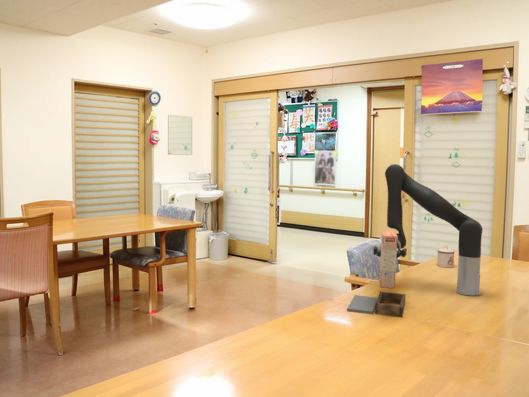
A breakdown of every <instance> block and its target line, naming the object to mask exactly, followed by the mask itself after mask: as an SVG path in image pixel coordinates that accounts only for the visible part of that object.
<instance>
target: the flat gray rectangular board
mask: <svg viewBox="0 0 529 397" xmlns="http://www.w3.org/2000/svg"><path fill="white" fill-rule="evenodd" d="M377 298H378V296H377V297H376V296H368V295H360V294H354V296H353V298H352V299H351V301H350V302H349V305H348V306H347V308H346V312H352V313H353V312H354V313H361V314H368V315H373V314H374V313H375V303H376V301H377Z"/></svg>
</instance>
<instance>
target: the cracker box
mask: <svg viewBox="0 0 529 397" xmlns="http://www.w3.org/2000/svg"><path fill="white" fill-rule="evenodd" d="M396 231H397V230H396ZM396 231H395V230H381V239H380V240H381V243H380V244H381V245H380V247H381V256H380V264H379V286H380V287H379V288H384V289H385V288H386V289H395V287H396V273H397V272H396V271H397V258H396V256H397V239H398V237H397V234H398V233H397V232H396ZM396 233H397V234H396Z"/></svg>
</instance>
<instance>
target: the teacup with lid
mask: <svg viewBox="0 0 529 397" xmlns="http://www.w3.org/2000/svg"><path fill="white" fill-rule="evenodd" d="M436 260H437V261H436V263H437V264H436V266H438V267H439V268H445V269H447V268H449V269H450V268H451V269H452V268H453V267H454V260H455V250H454V249H451V248H450V247H449V246H448V245H444V247H441V248H438V249H437V259H436Z"/></svg>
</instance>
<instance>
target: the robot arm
mask: <svg viewBox="0 0 529 397" xmlns="http://www.w3.org/2000/svg"><path fill="white" fill-rule="evenodd" d="M384 175H385V176H384V177H385V180H386V186H387V188H386V189H387V210H386V226H387V228H390V229H393V230H396V231H397V232H396V234H397V237H398V239H397V256H396V259H398V258H400V257H402V258H405V257H406V256H407V255H408V254H407V253H408V250H407V249H408V248H406V245H407V239H406V235H405V231H404V227H403V201H402V192H404V193H405V194H406V195H408V196H409V198H410V199H412V200H413V201H414V202H415V203H416V204H418V205H419V206H420V207H421V208H423V209H424V210H425V211H427V212H428V213H429V214H431V215H433V216H435V217H436V218H438V219H440V220H442V221H445V222H447V223H448V224H450V225H451V226H452V227H454V228H455V229H456V230H457V231H458V248H457V249H458V258H457V261H458V262H457V276H456V277H457V280H456V293H458V294H460V295H463V296H473V297H474V296H480V288H481V286H480V285H481V259H482V258H481V256H482V248H481V247H482V236H483V227H482V224H481V223H480V222H479V221H478V220H476V219H474V218H472V217H471V216H468V215H467V214H465V213H463V212H462V211H460V210H459V209H458V208H457V207H455V206H454V205H453V204H452V203H450V201H448V200H447V199H446V198H445V197H443V196H442V195H440V194H439V193H437V192H436V191H434V190H433V189H431V188H429V187H428V186H426V185H424V184H421V183H419V182H417V181H416V180H414V179H413V178H412V176H410V175H409V174H408V173H406V172H405V169H404V168H403V167H402V166H401V165H400V164H397V163H396V164H395V163H394V164H393V163H392V164H390V165H389V166H388V167H387V168H386V170H385V172H384ZM373 255H374V256H378V258H381V246H380V247H378V246H376V245H375V246H373Z"/></svg>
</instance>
